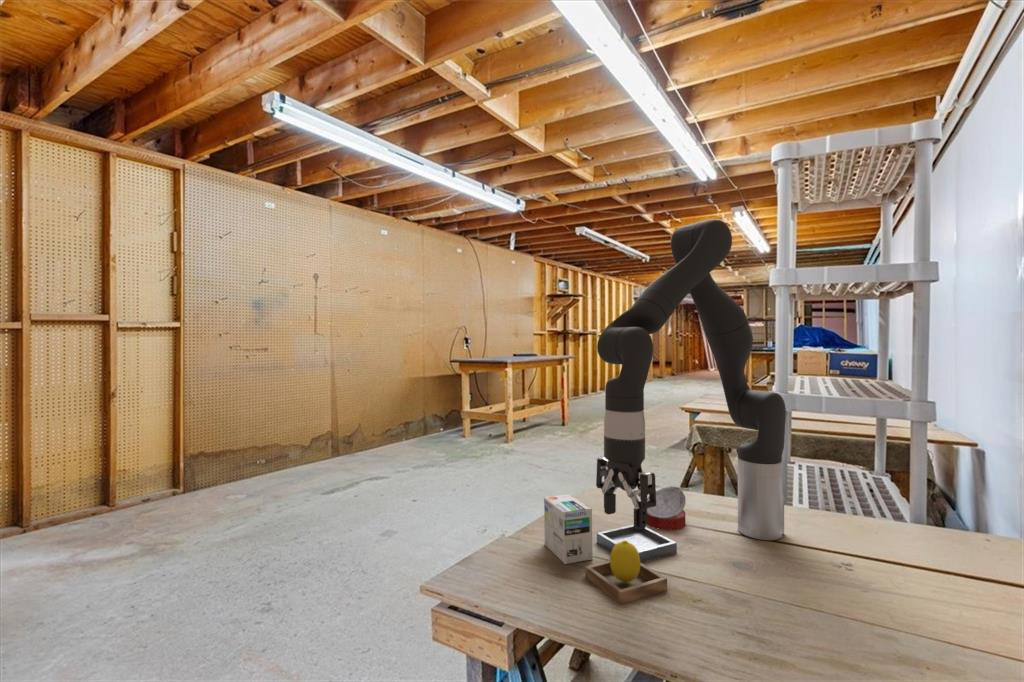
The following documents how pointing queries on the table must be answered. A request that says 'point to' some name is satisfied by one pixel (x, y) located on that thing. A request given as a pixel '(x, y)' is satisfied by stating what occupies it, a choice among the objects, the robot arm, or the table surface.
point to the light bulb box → (568, 528)
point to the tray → (639, 542)
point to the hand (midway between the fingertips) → (624, 520)
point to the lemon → (625, 561)
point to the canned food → (667, 509)
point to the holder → (631, 593)
